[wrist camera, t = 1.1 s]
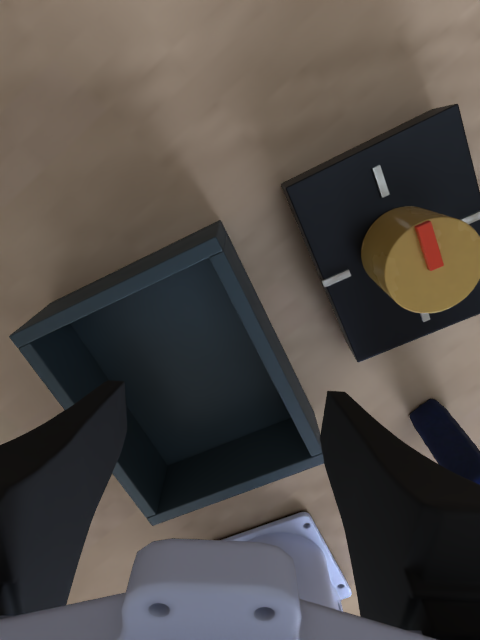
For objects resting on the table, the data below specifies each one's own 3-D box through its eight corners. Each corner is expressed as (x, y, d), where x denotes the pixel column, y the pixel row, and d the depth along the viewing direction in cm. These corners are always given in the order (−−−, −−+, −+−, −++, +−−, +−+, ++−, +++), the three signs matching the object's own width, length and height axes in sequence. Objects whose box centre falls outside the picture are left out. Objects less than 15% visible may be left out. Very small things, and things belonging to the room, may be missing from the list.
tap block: (482, 287, 23) (511, 303, 21) (345, 343, 24) (357, 365, 22) (435, 107, 20) (462, 101, 17) (278, 184, 21) (283, 189, 19)
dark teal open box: (314, 412, 26) (328, 462, 22) (165, 469, 28) (151, 526, 24) (220, 219, 22) (216, 236, 17) (50, 303, 24) (8, 336, 19)
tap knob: (454, 268, 20) (499, 292, 17) (376, 301, 21) (403, 331, 17) (432, 190, 19) (476, 199, 15) (349, 228, 19) (373, 245, 16)
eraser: (424, 434, 27) (481, 519, 21) (403, 413, 26) (456, 495, 20) (452, 414, 26) (519, 496, 20) (432, 393, 26) (495, 471, 19)
